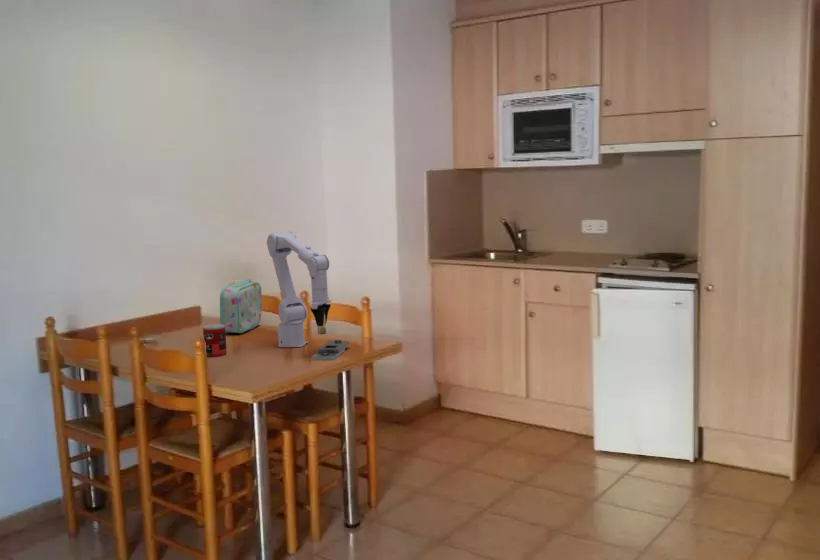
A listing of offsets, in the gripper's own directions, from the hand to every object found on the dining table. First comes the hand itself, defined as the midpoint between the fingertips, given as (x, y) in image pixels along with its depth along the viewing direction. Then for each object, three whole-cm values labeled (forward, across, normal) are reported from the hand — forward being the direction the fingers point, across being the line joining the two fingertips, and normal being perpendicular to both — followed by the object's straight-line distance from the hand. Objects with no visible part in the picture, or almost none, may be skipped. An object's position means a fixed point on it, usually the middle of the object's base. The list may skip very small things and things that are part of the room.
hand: (321, 325), depth 299 cm
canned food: (+10, -6, +40) cm, 42 cm away
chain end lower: (+10, -5, -4) cm, 12 cm away
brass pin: (+3, 0, 0) cm, 3 cm away
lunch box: (+10, +41, +50) cm, 66 cm away
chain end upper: (+9, +1, -4) cm, 10 cm away
